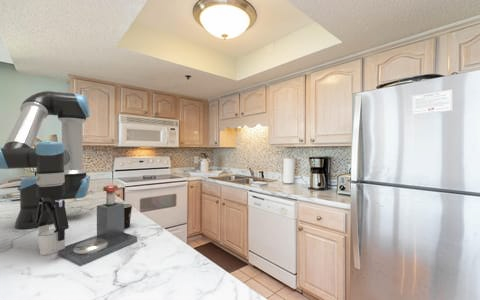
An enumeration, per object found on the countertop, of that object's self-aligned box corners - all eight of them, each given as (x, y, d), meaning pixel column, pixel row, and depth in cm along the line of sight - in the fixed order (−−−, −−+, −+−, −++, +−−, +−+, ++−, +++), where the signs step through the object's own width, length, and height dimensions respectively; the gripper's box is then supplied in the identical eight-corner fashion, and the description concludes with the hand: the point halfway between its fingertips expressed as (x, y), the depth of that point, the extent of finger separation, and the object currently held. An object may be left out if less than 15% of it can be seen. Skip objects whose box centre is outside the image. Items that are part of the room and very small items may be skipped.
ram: (100, 215, 87) (100, 186, 87) (113, 211, 92) (112, 184, 91) (108, 217, 85) (108, 187, 85) (120, 213, 89) (120, 185, 89)
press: (57, 254, 75) (57, 214, 75) (114, 234, 93) (113, 201, 93) (80, 265, 68) (80, 221, 68) (137, 241, 86) (136, 206, 86)
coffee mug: (123, 231, 96) (123, 209, 96) (106, 230, 98) (106, 207, 98) (140, 222, 107) (140, 202, 107) (125, 221, 109) (125, 201, 109)
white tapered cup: (48, 247, 81) (48, 228, 81) (67, 246, 82) (67, 228, 81) (32, 256, 74) (32, 236, 74) (53, 255, 75) (53, 235, 75)
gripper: (22, 184, 80) (23, 244, 79) (54, 188, 69) (54, 258, 68) (48, 182, 86) (49, 237, 86) (80, 185, 75) (81, 248, 75)
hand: (51, 246), depth 77 cm, fingers open, 11 cm apart
